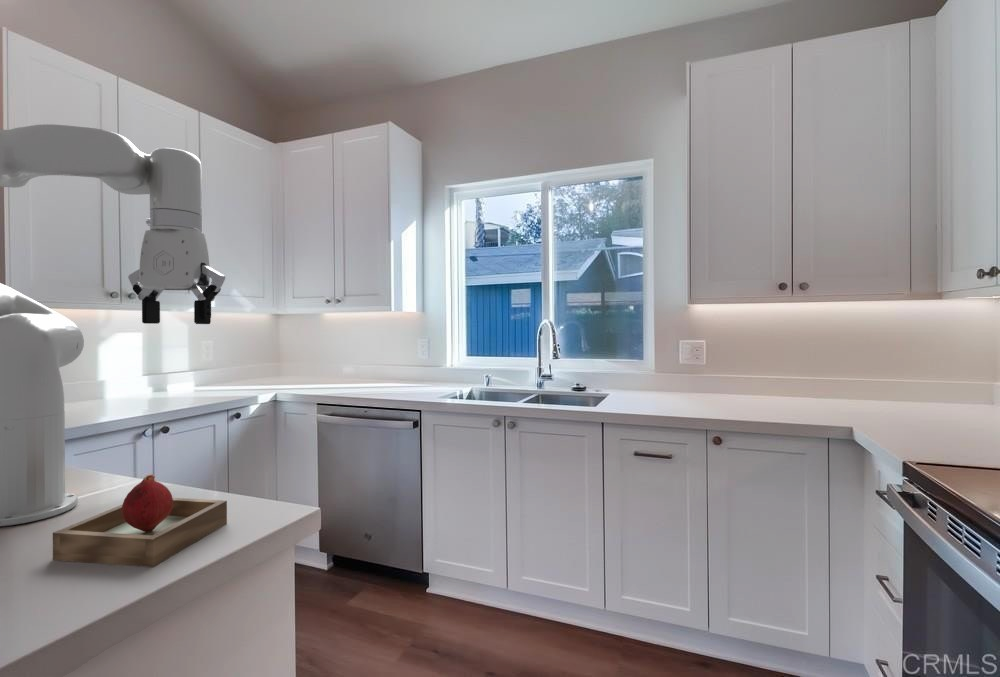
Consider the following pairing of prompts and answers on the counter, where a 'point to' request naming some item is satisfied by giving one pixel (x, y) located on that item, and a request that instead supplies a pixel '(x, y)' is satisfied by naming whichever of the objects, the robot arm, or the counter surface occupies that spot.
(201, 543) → the counter surface
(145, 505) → the dark red round piece
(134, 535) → the tray
